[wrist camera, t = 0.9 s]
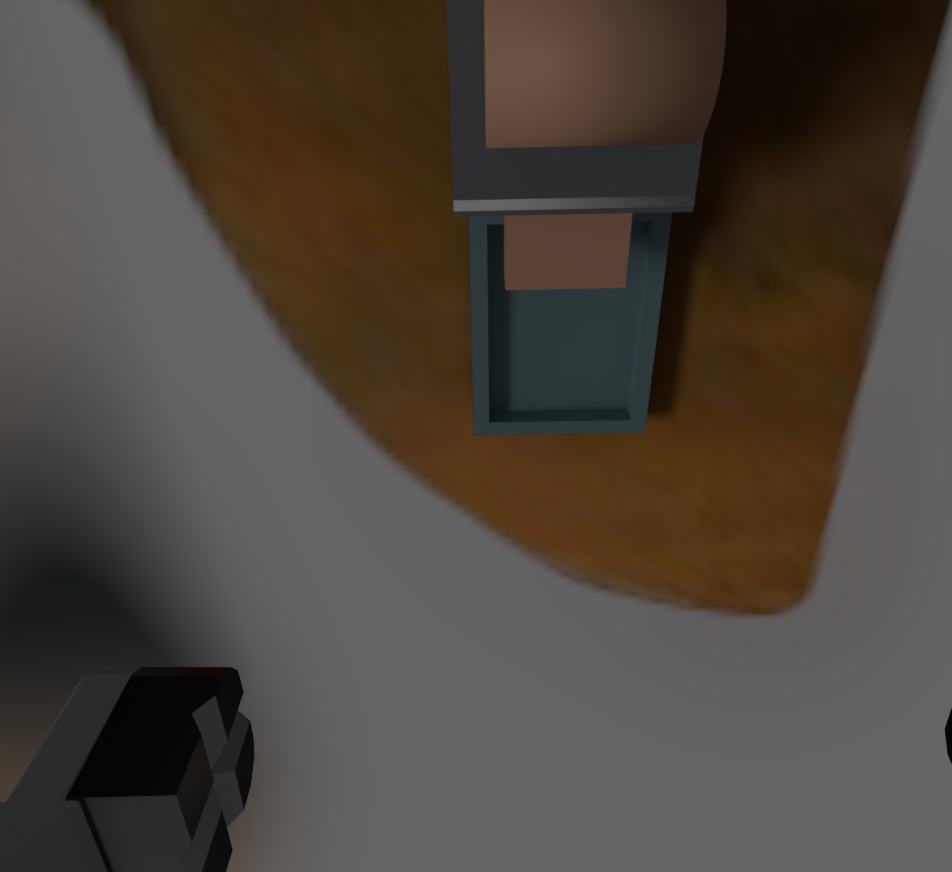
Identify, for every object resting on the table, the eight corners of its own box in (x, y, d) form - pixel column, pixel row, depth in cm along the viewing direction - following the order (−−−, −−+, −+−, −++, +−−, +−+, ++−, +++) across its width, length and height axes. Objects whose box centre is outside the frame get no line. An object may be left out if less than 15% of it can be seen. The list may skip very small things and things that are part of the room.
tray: (468, 197, 34) (468, 206, 32) (666, 193, 34) (673, 202, 32) (474, 420, 40) (474, 435, 39) (639, 417, 40) (644, 432, 39)
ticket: (504, 42, 28) (506, 47, 26) (638, 39, 28) (648, 45, 26) (503, 273, 32) (505, 290, 31) (617, 270, 32) (625, 287, 31)
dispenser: (450, -37, 29) (439, -34, 19) (681, -42, 29) (784, -41, 19) (457, 176, 33) (451, 264, 24) (657, 172, 33) (731, 258, 24)
